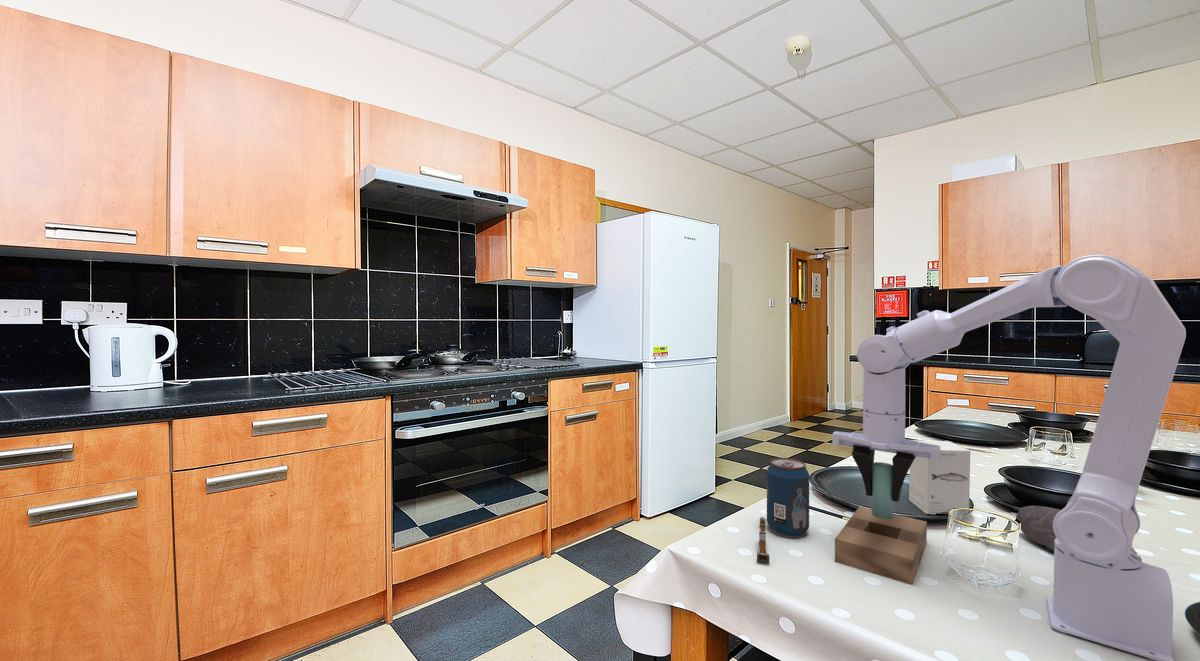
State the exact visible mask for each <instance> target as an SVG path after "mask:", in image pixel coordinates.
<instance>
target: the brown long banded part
mask: <svg viewBox="0 0 1200 661" xmlns="http://www.w3.org/2000/svg"><path fill="white" fill-rule="evenodd" d="M766 523H767V518H765V517H764V516H761V517H759V534H758V535H759V536H758V539H759V540H758V541H759V543H758V544H759V551H758V552H757V553H756V562H761V563H762V562H763V563H768V564H770V554H769V553H768V552H767V532H766V527H767V524H766Z"/></svg>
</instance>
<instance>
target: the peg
mask: <svg viewBox="0 0 1200 661" xmlns="http://www.w3.org/2000/svg"><path fill="white" fill-rule="evenodd" d="M893 482H894V477H893V464H891V463H888V462H881V461H879V462H878V461H874V463H872V496H871V509H872V515H873V516H875V517H878V518H881V519H893V518H894V514H895V501H893V499H892V493H893Z"/></svg>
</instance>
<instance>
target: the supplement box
mask: <svg viewBox="0 0 1200 661" xmlns="http://www.w3.org/2000/svg"><path fill="white" fill-rule="evenodd" d="M912 440H913V441H917V442H922V443H927V444H933V445H939V446H940V460H939V461H934V460H930V459H929V458H922V457H916V458H915V459H914V461H913V463H912V465H911V466H910V468H909V485H908V486H909V492H908V493H909V494H908V497H909V499H908V500H909V502H910V503H911V504H913V505H914V506H915V507H916V508H918V509H919V510H920V511H922V512H923V513H924V514H926V515H927V514H930V515H936V513H941V512H945V511H946V512H948V510H950V509H953V508H969V509H970V491H971V490H970V482H971V481H970V480H971V478H970V477H971V450H969V449H968V448H966V447H963V446H961V445H958V444H957V443H954V442H951V441H949V440H946V441H945V440H944V441H943V440H925V439H924V440H923V439H922V440H921V439H920V440H919V439H912Z"/></svg>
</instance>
